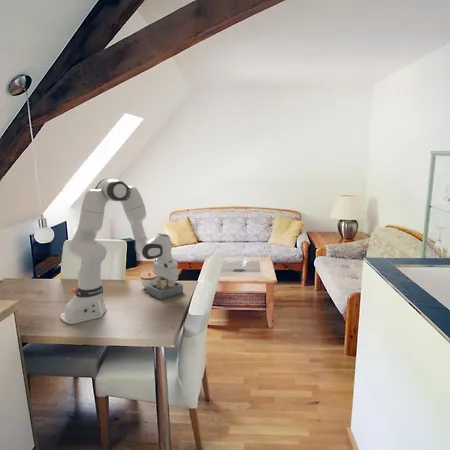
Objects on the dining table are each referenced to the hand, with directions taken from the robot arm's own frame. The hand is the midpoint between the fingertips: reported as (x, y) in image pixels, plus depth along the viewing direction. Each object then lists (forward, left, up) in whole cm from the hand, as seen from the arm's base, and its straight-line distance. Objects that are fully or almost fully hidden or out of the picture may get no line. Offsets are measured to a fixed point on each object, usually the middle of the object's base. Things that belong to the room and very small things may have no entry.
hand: (165, 284), depth 230 cm
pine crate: (0, 0, -2) cm, 2 cm away
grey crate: (0, 0, -5) cm, 5 cm away
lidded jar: (-1, +15, -6) cm, 16 cm away
